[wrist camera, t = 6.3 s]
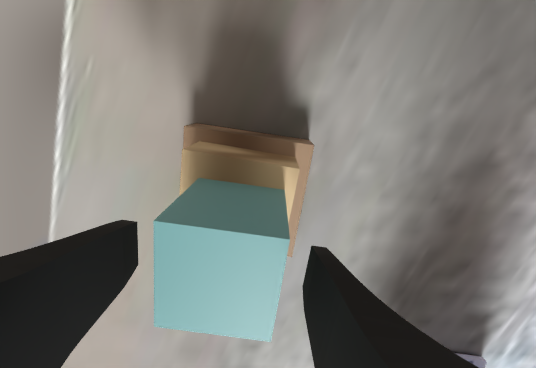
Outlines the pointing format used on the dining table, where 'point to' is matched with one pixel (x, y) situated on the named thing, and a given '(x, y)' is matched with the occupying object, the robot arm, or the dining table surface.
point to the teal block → (221, 259)
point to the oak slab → (239, 168)
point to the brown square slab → (264, 144)
